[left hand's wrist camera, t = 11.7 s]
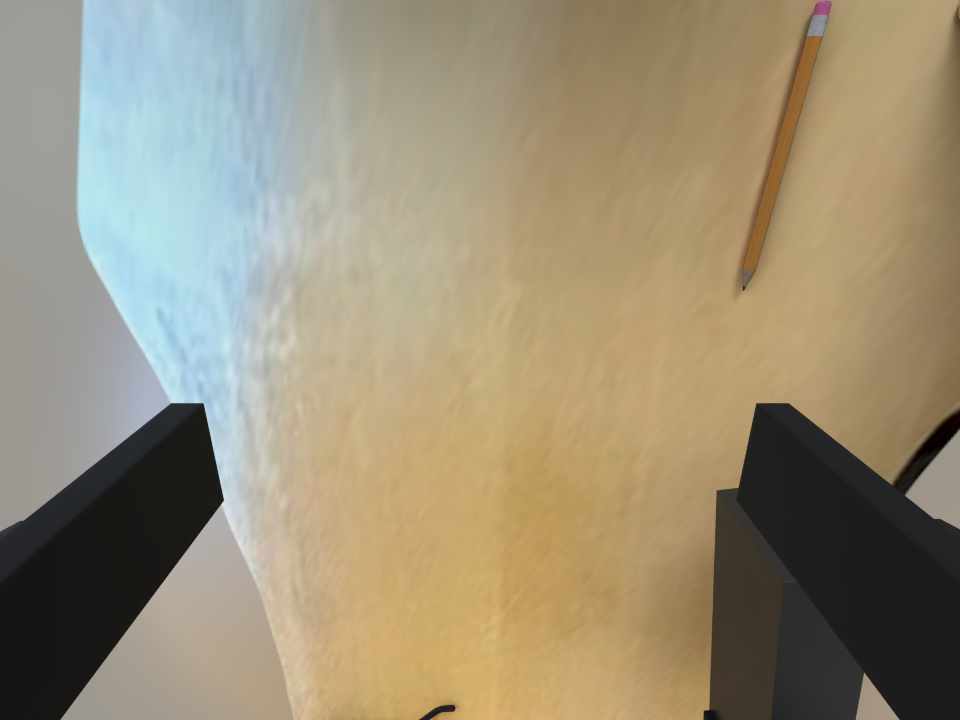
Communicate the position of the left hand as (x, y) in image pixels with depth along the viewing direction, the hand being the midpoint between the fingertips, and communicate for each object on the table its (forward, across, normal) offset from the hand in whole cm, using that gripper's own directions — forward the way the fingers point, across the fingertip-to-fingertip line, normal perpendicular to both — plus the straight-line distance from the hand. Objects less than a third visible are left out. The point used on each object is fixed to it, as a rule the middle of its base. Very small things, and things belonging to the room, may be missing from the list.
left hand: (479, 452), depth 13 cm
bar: (+23, +23, -32) cm, 46 cm away
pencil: (+29, +21, +6) cm, 37 cm away
